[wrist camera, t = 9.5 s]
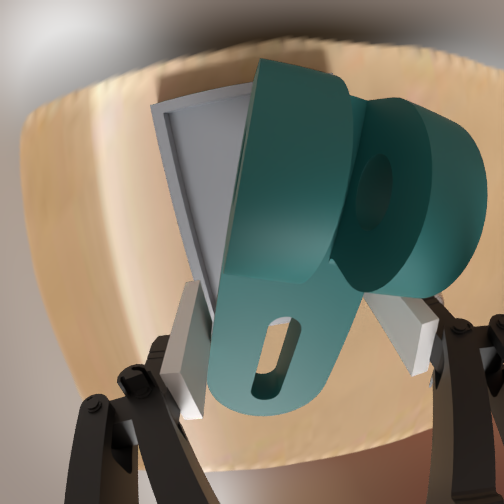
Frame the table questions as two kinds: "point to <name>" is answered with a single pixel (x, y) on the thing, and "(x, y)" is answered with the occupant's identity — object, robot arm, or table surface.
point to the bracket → (333, 227)
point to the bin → (203, 173)
